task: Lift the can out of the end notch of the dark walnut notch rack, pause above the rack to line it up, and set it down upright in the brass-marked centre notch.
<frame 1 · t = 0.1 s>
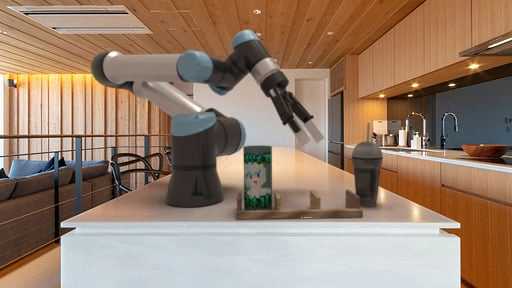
hand: (314, 141, 79), 15 cm above the countertop, tool tilted 35°, fingers open, 13 cm apart
notch rack: (296, 211, 69), on the countertop
beverage cup: (366, 205, 75), on the countertop
can: (258, 212, 69), resting in notch rack
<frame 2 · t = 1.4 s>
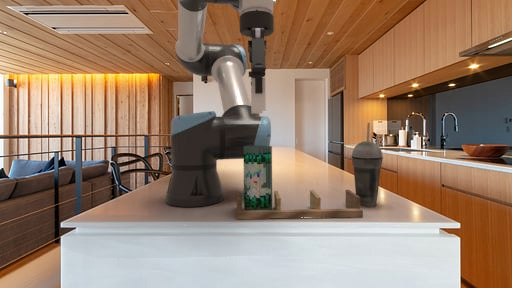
hand: (257, 112, 68), 23 cm above the countertop, tool pointing down, fingers open, 13 cm apart
nothing on the countertop moved.
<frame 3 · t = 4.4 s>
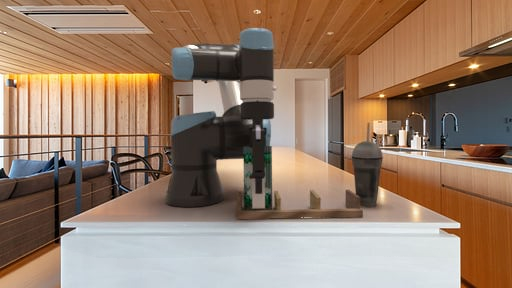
hand: (258, 203, 69), 2 cm above the countertop, tool pointing down, fingers closed on can, 6 cm apart
can: (258, 212, 69), resting in notch rack, touching gripper
everything else where it was.
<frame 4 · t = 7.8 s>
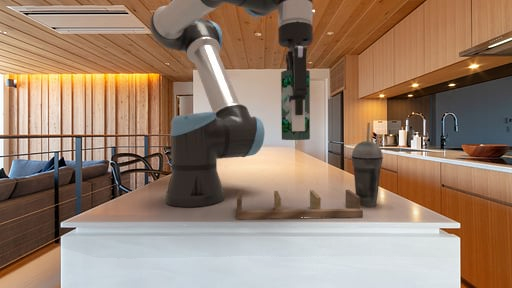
hand: (295, 130, 68), 18 cm above the countertop, tool pointing down, fingers closed on can, 6 cm apart
can: (295, 140, 68), point 16 cm above the countertop, touching gripper
everything else where it was.
when the fingers open (3 cm above the countertop, at t = 11.3 s): can stays where it is, resting in notch rack.
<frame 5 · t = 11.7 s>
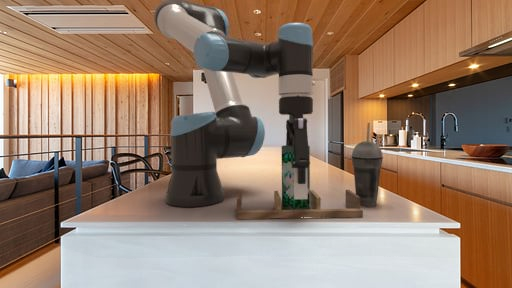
hand: (296, 192, 69), 4 cm above the countertop, tool pointing down, fingers open, 12 cm apart
can: (295, 212, 69), resting in notch rack
everything else where it was.
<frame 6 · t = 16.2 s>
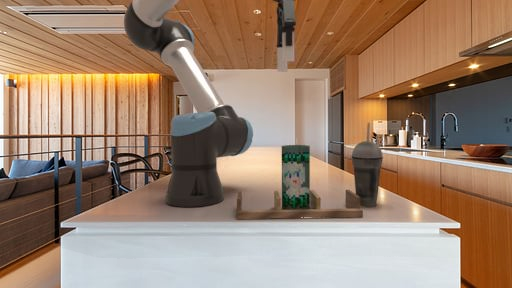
hand: (285, 66, 78), 35 cm above the countertop, tool pointing down, fingers open, 13 cm apart
nothing on the countertop moved.
at the end: can 0.1 cm off-centre on the notch rack, point 0.0 cm above the notch rack's base; can tilted 0°; the gripper is holding nothing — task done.
